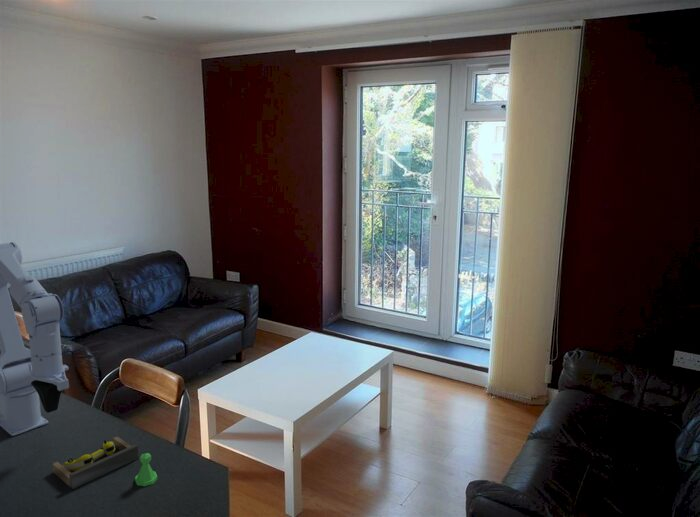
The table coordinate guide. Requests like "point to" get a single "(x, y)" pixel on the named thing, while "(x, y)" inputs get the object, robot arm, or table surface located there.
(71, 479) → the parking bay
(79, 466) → the yellow plastic handheld tool
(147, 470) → the game piece
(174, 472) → the table surface
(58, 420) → the table surface
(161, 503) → the table surface
